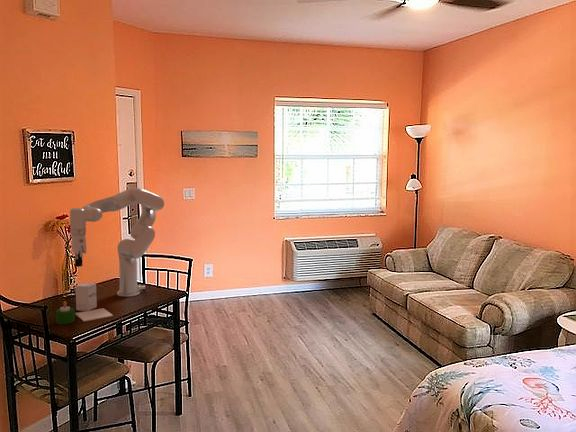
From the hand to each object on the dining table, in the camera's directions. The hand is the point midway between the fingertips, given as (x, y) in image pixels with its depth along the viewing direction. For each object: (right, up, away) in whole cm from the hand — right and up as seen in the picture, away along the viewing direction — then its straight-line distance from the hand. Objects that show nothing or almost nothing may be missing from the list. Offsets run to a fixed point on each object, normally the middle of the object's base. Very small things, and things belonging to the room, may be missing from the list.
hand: (78, 266), depth 262 cm
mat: (+13, -23, -14) cm, 30 cm away
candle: (+3, -24, -23) cm, 34 cm away
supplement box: (+7, -22, -6) cm, 23 cm away
